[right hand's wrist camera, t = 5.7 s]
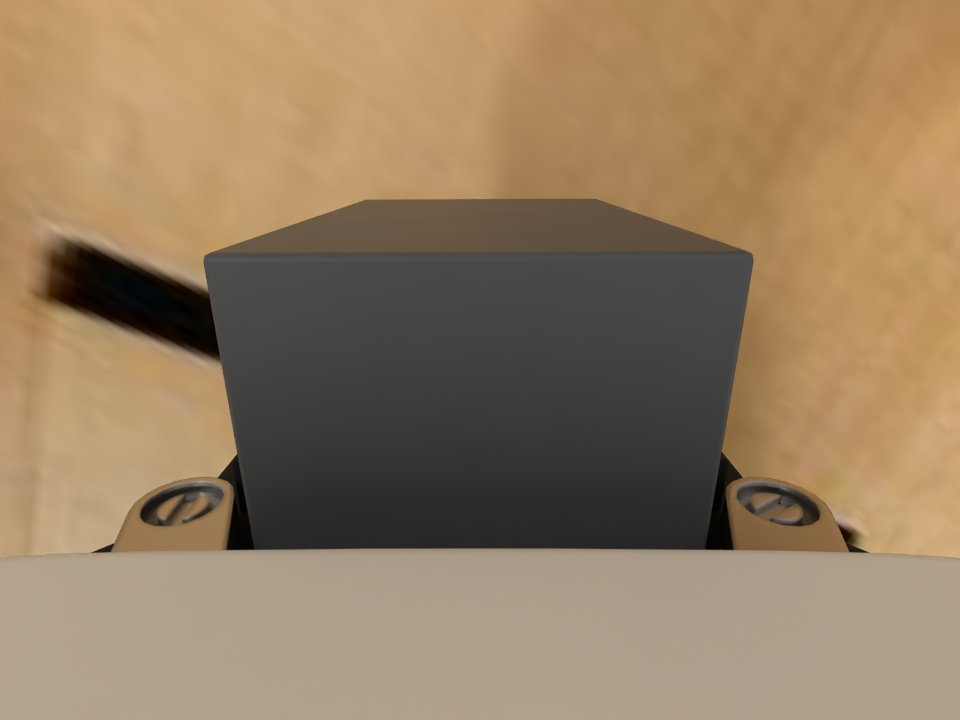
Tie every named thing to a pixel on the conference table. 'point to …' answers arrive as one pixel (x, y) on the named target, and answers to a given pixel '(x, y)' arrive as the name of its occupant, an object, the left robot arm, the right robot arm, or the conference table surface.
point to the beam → (479, 375)
